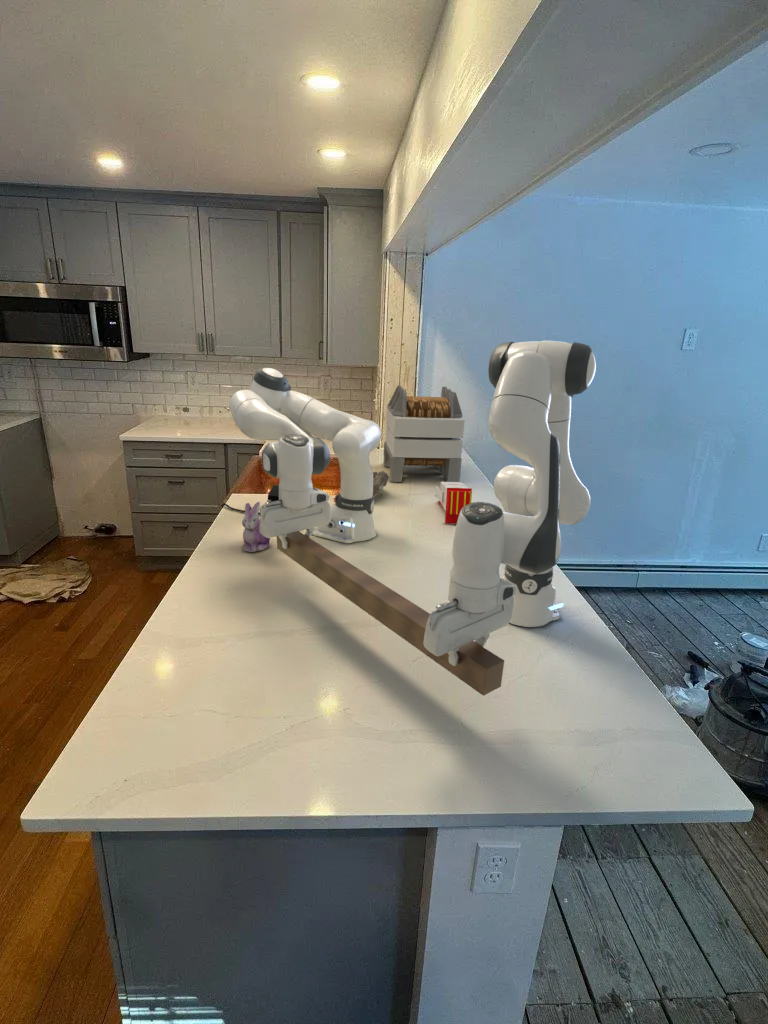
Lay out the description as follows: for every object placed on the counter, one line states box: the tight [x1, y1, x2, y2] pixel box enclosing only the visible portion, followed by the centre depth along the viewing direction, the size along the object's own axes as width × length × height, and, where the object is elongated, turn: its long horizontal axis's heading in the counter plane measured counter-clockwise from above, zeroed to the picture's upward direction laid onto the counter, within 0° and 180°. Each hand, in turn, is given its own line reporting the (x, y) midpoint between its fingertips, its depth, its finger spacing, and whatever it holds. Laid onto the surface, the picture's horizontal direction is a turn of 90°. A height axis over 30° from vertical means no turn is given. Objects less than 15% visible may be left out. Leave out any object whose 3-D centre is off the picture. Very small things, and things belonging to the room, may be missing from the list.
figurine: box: [241, 501, 271, 553], centre depth 181 cm, size 9×10×15 cm
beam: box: [276, 531, 505, 696], centre depth 130 cm, size 78×5×6 cm, turn 38°
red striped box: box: [434, 481, 473, 525], centre depth 222 cm, size 12×13×30 cm
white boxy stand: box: [383, 384, 465, 483], centre depth 268 cm, size 34×33×41 cm
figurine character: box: [266, 484, 279, 503], centre depth 218 cm, size 7×8×15 cm
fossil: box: [372, 470, 389, 498], centre depth 237 cm, size 22×10×15 cm
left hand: (296, 545), depth 154 cm, fingers closed on beam, 5 cm apart
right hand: (465, 658), depth 107 cm, fingers closed on beam, 5 cm apart
